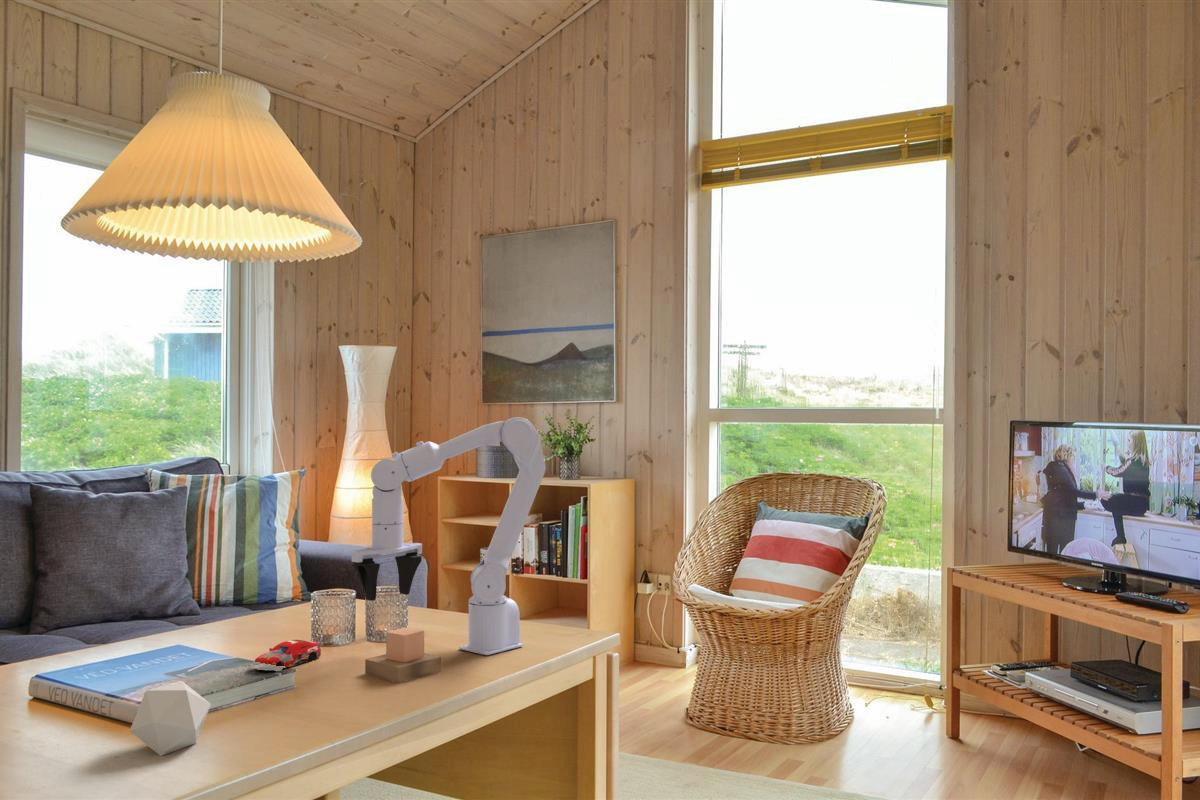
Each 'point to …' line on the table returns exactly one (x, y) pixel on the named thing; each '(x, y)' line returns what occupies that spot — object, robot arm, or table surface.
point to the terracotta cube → (405, 644)
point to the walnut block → (402, 668)
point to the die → (170, 717)
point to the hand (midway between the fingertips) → (387, 596)
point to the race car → (291, 653)
